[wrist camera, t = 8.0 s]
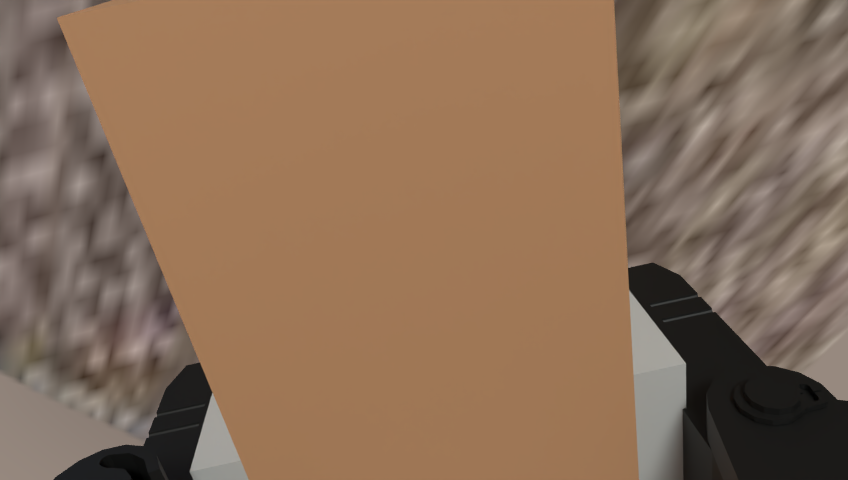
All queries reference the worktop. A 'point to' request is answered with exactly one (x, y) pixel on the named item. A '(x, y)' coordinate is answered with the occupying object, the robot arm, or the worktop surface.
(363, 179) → the orange-brown block
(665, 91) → the worktop surface
